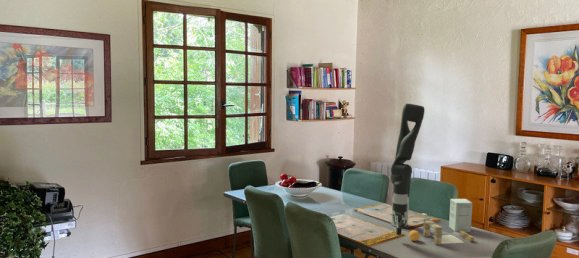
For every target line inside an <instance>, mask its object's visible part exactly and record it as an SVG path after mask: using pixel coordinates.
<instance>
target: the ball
mask: <svg viewBox="0 0 579 258" xmlns="http://www.w3.org/2000/svg"><path fill="white" fill-rule="evenodd" d="M408 237H409V239H410V240H411V241H413V242H417V241H419V240H420V237H421V236H420V232H419V231H417V230H413V229H412V230H410V232H409V233H408Z"/></svg>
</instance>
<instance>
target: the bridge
mask: <svg viewBox="0 0 579 258" xmlns="http://www.w3.org/2000/svg"><path fill="white" fill-rule="evenodd" d="M422 226H423V230H422V236H423V237H424V238H427V237H428V238H429V237H431V227H432V228H433V229H434V235H433V236H434V237H433V245H435V246H441V245H442V243H441V239H442V235H443V227H442V226H441V225H439V224H438V223H436V222H434V221H433V220H431V219H430V218H424V219H423V225H422Z"/></svg>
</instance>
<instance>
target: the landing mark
mask: <svg viewBox="0 0 579 258" xmlns="http://www.w3.org/2000/svg"><path fill="white" fill-rule="evenodd" d="M431 237H432V238H434V235H431ZM464 243H465V242H463V241H462V240H461V239H460V238H458V237H456V236H454V235H453V234H447V235H446V234H445V235H443V234H442V239H441V245H442V244H443V245H444V244H445V245H446V244H447V245H448V244H450V245H451V244H464Z"/></svg>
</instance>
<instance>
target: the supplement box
mask: <svg viewBox="0 0 579 258" xmlns="http://www.w3.org/2000/svg"><path fill="white" fill-rule="evenodd" d="M449 201H450V203H449V218H448V219H449V222H448V227H449V229H451V230H453V232H457V233H459V232H460V231H464V232H466V233H467V232H468V233H470V232H471V230H472V216H473V215H472V214H473V202H472V201H470V200H469V199H467V198H450V200H449Z"/></svg>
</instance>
